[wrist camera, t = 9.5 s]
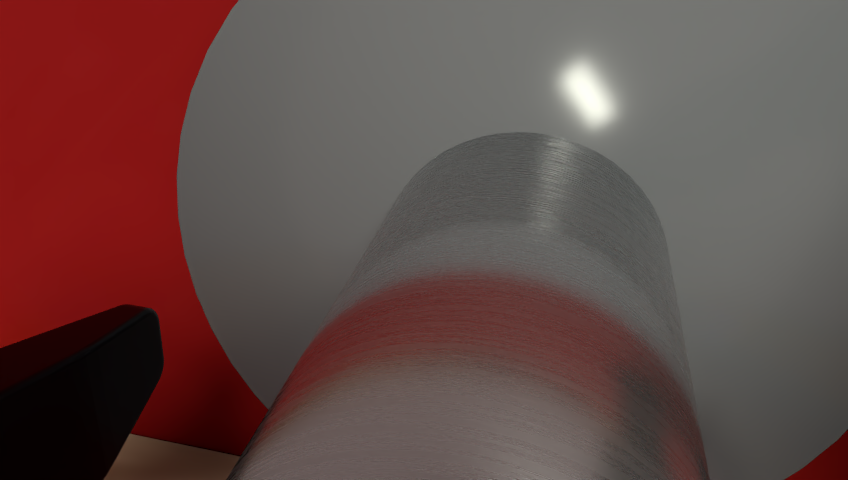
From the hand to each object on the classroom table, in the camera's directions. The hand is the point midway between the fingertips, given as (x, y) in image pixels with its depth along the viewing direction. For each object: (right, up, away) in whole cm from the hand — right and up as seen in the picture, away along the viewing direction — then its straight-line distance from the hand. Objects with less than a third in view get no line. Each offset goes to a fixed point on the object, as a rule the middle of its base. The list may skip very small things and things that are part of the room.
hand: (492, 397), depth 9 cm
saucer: (+1, +2, +4) cm, 4 cm away
